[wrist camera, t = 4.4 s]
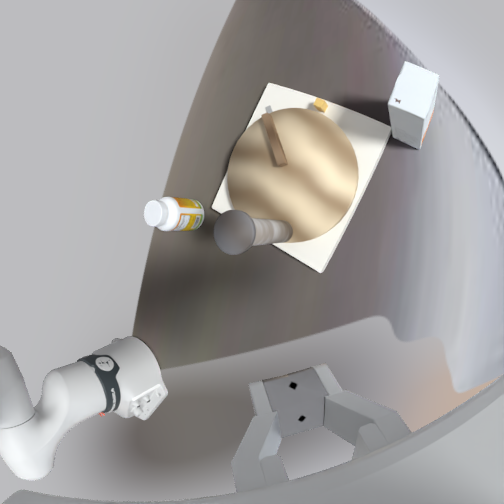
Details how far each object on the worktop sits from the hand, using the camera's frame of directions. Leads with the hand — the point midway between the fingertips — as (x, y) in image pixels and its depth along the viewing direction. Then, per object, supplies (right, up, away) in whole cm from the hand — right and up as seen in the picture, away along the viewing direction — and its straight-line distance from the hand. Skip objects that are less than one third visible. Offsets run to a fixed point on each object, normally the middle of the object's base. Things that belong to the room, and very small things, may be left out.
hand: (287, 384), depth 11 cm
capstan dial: (+4, +16, +31) cm, 35 cm away
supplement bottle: (-11, +11, +42) cm, 45 cm away
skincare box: (+20, +22, +24) cm, 38 cm away
